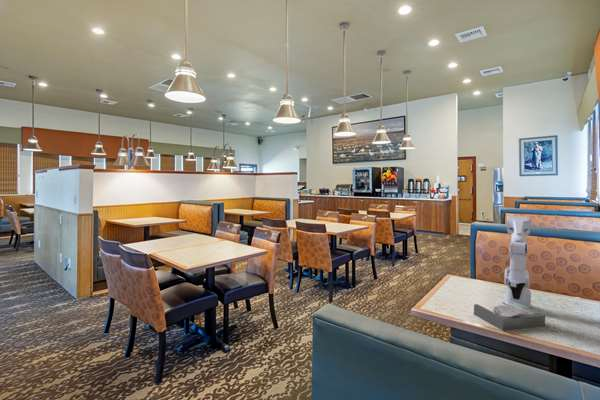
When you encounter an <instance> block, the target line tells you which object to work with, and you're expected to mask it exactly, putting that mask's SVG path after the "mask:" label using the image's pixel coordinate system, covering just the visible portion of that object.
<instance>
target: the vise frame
mask: <svg viewBox="0 0 600 400" xmlns="http://www.w3.org/2000/svg"><path fill="white" fill-rule="evenodd" d="M473 315H474V316H476V317H478V318H479V319H481V320H483V321H485V322H487V323H488V324H491V325H492V326H493V327H496V328H497V329H499V330H501V331H512V330H519V329H520V330H521V329H530V328H538V327H546V314H543V313H540V312H539V314H529V315H519V316H509V317H501V316H499V315H497V314H496V313H495V312H494V311H491V310H490V309H487V308H485V307H484V306H482V305H479V304H478V303H475V304H473Z"/></svg>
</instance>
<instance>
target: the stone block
mask: <svg viewBox="0 0 600 400" xmlns="http://www.w3.org/2000/svg"><path fill="white" fill-rule="evenodd" d="M492 309H493V311H492V312H494V313H495V314H497V315H499V316H501V317H509V316H519V315H528V314H527V313H526V312H525V311H522V310H517V309H515V308H513V307H512V306H511V305H506V304H505V305H503V304H500V305H496V306H494V307H493V308H492Z"/></svg>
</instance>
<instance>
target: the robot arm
mask: <svg viewBox="0 0 600 400" xmlns="http://www.w3.org/2000/svg"><path fill="white" fill-rule="evenodd" d="M506 217H507V218H506V231H507V234H509V235H511V236H510V243H509V251H508V252H509V258H510V259H509V266H507V267H506V268H505V269H504V279H503V280H504V281H503V283H504V284H505V285H506V300H502V301H501V302H502V303H503V304H505V305H506V306H509V301H514V302H516V303H518V304H521V305H523V306H525V307H528V308H532V307H533V306H532V305H531V304H532V302H531V300H532V292H531V290H530V289H529V287H530V272H529V271H528V270H527V267H526V265H527V256H528V251H529V245H528V241H527V236H529V235H530V233H531V228H532V218H531V216H519V215H517V216H516V215H507V216H506Z"/></svg>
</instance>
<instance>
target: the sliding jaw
mask: <svg viewBox="0 0 600 400" xmlns="http://www.w3.org/2000/svg"><path fill="white" fill-rule="evenodd" d="M509 305H511V306H512V307H513V308H515V309H517V310H522V311H525V312H526V313H527V314H528V315H529V314H539V313H540V312H538V311H537V310H534V309H532V308H531V307H525V306H523V305H521V304H518V303H516V302H514V301H509ZM509 305H508V306H509Z"/></svg>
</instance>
